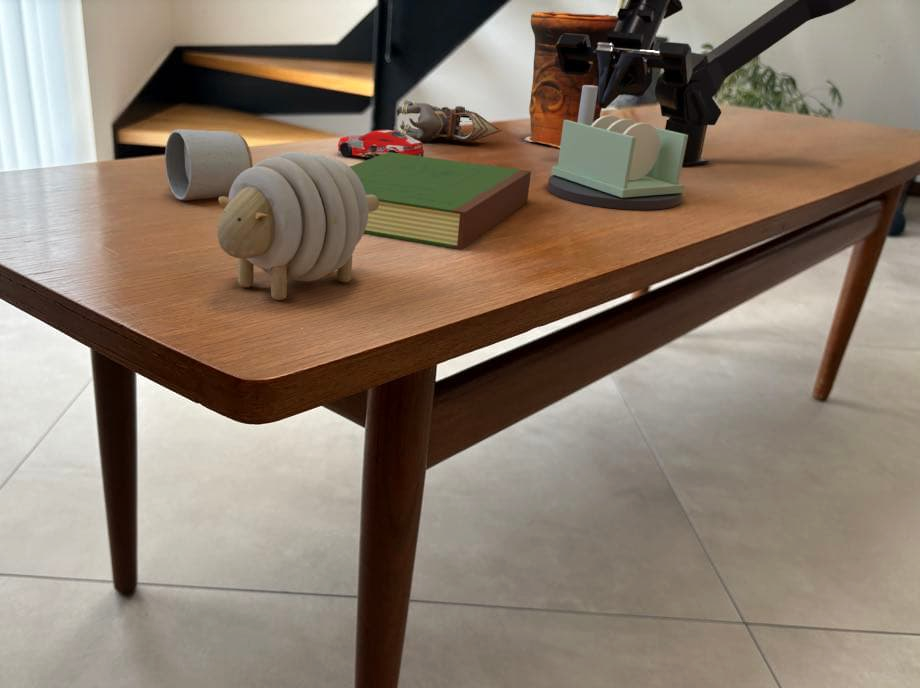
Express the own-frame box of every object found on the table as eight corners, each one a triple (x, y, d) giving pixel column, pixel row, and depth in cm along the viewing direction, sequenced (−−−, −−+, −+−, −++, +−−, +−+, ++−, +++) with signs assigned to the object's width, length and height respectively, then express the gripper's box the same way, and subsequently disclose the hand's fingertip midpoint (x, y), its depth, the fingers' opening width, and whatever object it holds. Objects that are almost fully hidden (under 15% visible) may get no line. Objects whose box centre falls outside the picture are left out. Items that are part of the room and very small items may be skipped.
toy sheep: (184, 289, 73) (177, 152, 68) (323, 251, 85) (326, 132, 80) (274, 323, 67) (273, 176, 62) (409, 277, 79) (418, 150, 74)
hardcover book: (461, 249, 88) (465, 212, 86) (296, 221, 94) (296, 186, 93) (528, 200, 109) (532, 170, 107) (389, 180, 115) (391, 151, 113)
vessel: (500, 139, 148) (514, 10, 140) (544, 132, 158) (560, 10, 149) (575, 153, 140) (595, 16, 131) (617, 144, 150) (638, 16, 141)
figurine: (410, 96, 153) (507, 104, 150) (407, 132, 155) (502, 141, 153) (388, 102, 135) (498, 112, 132) (385, 143, 137) (493, 154, 134)
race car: (330, 155, 129) (330, 127, 127) (349, 150, 133) (350, 122, 131) (409, 167, 123) (411, 138, 121) (427, 162, 128) (429, 133, 126)
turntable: (605, 175, 125) (606, 167, 125) (708, 201, 113) (710, 192, 113) (520, 186, 116) (521, 177, 115) (622, 216, 104) (623, 206, 103)
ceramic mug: (257, 200, 102) (256, 131, 98) (191, 207, 97) (187, 135, 94) (217, 183, 109) (215, 118, 106) (154, 188, 105) (149, 121, 102)
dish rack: (543, 171, 118) (555, 85, 114) (601, 168, 123) (614, 84, 118) (621, 197, 106) (638, 102, 101) (682, 192, 111) (701, 101, 106)
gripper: (708, 66, 129) (671, 152, 125) (587, 54, 137) (549, 135, 134) (706, 6, 119) (666, 99, 116) (576, -2, 128) (535, 84, 124)
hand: (601, 106), depth 123 cm, fingers closed
